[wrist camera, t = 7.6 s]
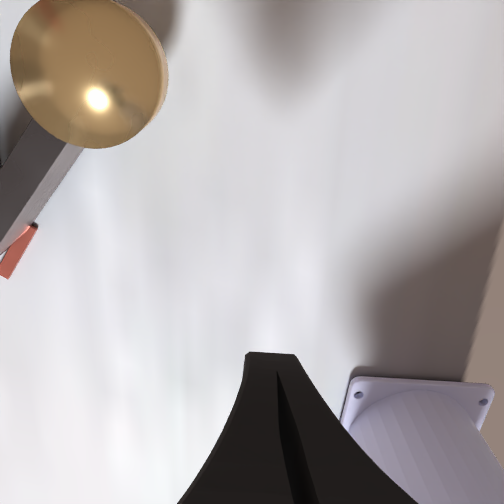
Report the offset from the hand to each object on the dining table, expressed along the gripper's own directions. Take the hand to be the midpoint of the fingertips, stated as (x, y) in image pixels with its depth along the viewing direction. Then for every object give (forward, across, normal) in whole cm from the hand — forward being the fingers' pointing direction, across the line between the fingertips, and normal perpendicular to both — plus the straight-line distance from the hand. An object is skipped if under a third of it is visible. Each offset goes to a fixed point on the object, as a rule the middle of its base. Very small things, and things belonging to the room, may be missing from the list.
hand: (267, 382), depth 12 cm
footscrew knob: (+9, +8, -5) cm, 13 cm away
